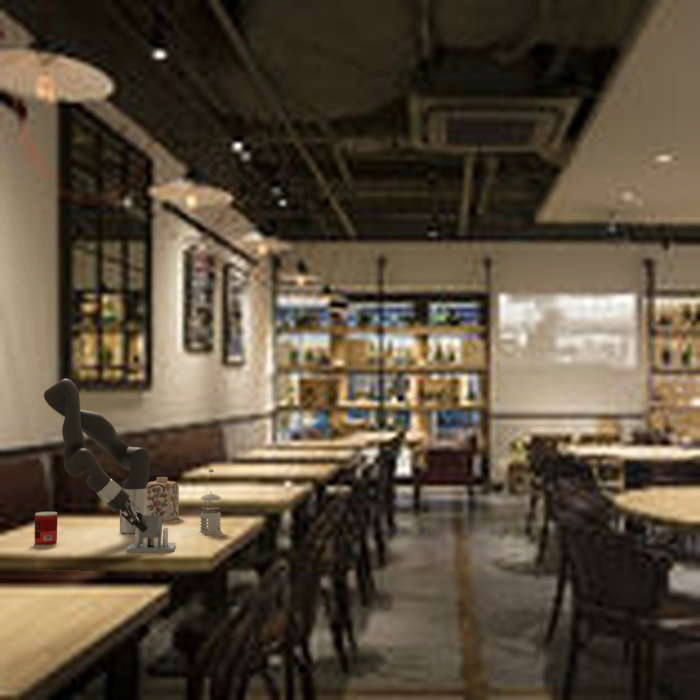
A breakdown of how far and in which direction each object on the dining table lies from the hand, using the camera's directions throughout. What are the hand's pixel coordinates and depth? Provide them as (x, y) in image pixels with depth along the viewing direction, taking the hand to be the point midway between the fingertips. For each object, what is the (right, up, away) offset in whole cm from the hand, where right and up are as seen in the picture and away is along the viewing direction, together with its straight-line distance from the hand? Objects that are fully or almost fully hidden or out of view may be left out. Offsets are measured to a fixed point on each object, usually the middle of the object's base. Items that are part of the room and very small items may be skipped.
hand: (145, 526), depth 340 cm
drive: (+2, -6, -3) cm, 7 cm away
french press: (+18, -9, +36) cm, 41 cm away
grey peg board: (+3, -8, -3) cm, 9 cm away
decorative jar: (-8, -10, +72) cm, 73 cm away
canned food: (-38, -8, +8) cm, 40 cm away
